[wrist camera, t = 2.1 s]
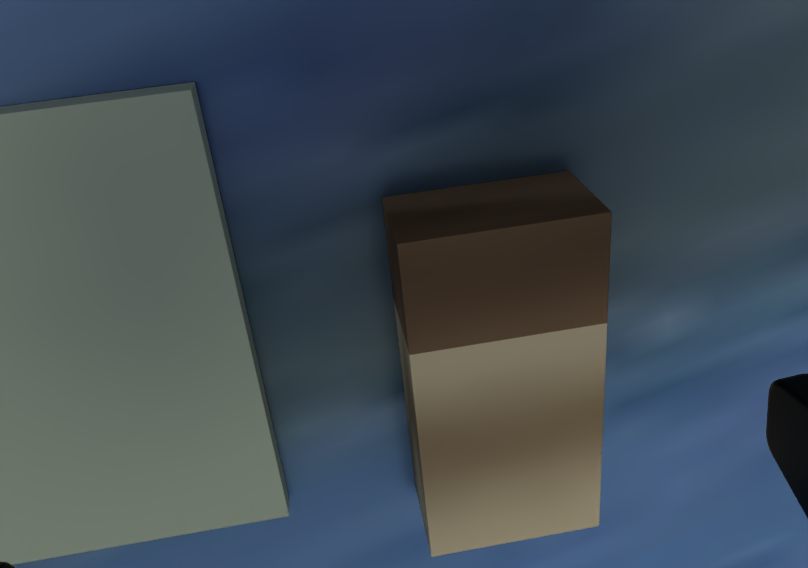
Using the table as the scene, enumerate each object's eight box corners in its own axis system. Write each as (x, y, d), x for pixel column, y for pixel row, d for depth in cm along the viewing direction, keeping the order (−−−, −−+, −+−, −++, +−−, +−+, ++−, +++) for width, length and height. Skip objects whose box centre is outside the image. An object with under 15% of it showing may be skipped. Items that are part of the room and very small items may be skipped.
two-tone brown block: (564, 457, 25) (599, 525, 22) (415, 484, 24) (431, 556, 22) (567, 169, 20) (611, 211, 17) (381, 196, 19) (397, 244, 17)
